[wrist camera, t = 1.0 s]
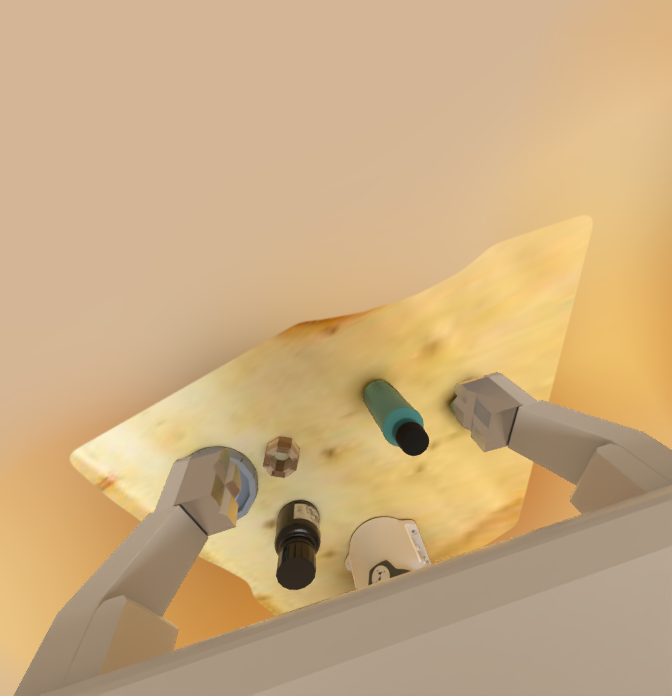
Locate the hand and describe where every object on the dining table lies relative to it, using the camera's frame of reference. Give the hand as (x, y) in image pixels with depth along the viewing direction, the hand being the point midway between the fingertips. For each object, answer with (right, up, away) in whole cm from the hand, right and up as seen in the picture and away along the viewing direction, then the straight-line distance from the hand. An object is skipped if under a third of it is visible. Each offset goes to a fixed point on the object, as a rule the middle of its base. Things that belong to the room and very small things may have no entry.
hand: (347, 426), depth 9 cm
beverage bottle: (+8, -6, +44) cm, 45 cm away
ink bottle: (-9, -34, +48) cm, 59 cm away
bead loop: (-11, -19, +44) cm, 50 cm away
